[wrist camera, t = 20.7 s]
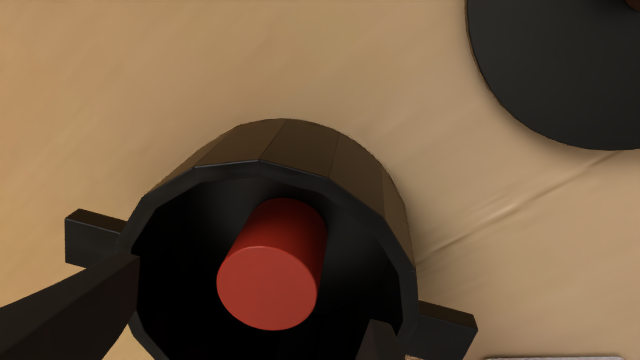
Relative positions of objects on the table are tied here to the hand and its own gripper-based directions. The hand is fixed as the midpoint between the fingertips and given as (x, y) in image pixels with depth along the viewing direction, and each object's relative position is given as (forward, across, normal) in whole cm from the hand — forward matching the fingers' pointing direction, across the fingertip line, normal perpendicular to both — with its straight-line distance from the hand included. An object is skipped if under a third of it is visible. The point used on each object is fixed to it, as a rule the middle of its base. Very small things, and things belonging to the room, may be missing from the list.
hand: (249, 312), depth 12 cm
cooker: (+10, 0, +3) cm, 11 cm away
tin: (+10, 0, +3) cm, 10 cm away
